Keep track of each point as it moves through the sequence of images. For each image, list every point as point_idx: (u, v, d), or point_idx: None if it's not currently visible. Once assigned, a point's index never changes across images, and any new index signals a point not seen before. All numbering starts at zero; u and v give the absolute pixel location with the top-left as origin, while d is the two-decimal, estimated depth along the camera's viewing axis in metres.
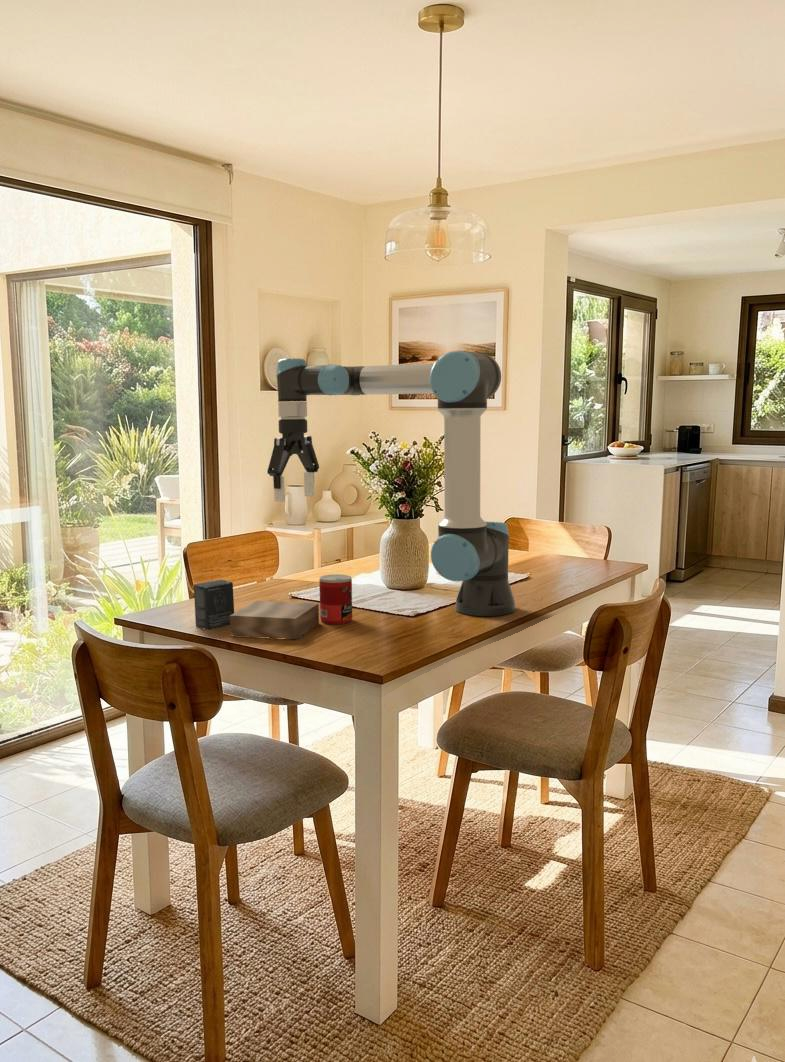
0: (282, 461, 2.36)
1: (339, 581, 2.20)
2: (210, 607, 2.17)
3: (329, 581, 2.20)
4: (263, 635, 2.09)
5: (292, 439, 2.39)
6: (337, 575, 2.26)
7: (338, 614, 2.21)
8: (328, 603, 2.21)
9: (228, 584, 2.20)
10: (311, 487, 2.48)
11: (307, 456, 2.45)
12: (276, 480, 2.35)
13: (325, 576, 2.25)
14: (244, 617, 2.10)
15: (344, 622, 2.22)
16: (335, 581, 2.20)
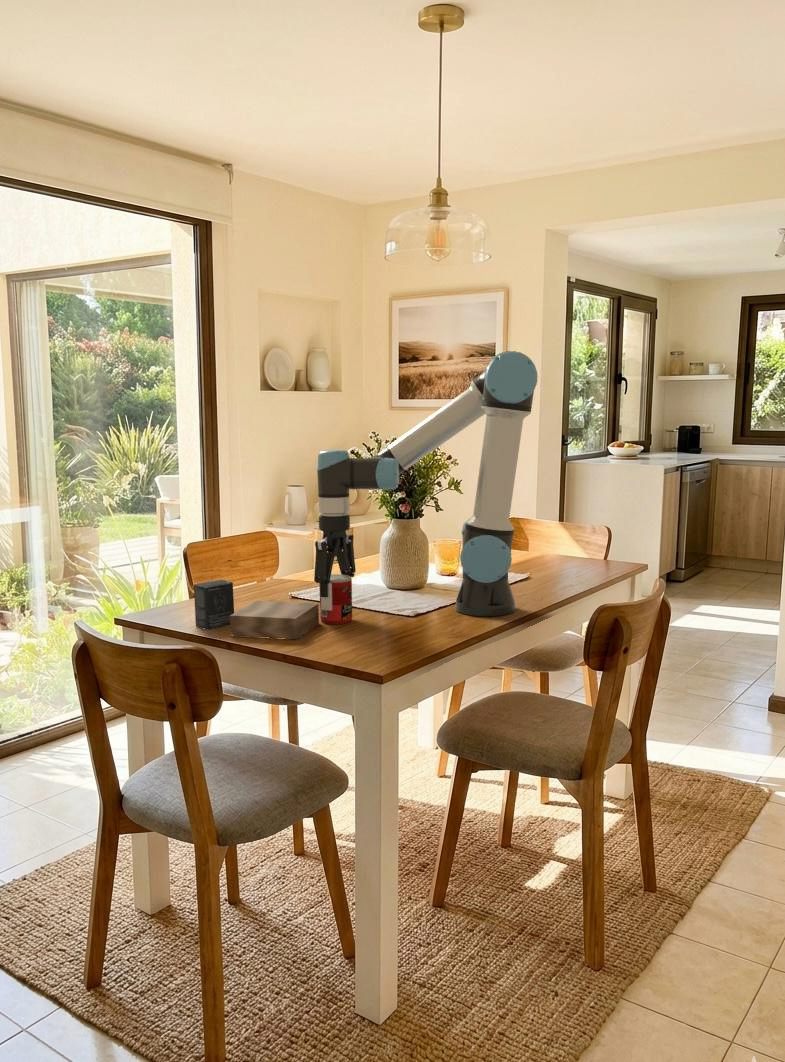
0: (327, 566, 2.19)
1: (339, 581, 2.20)
2: (210, 607, 2.17)
3: None
4: (263, 635, 2.09)
5: (333, 536, 2.20)
6: (337, 575, 2.26)
7: (338, 614, 2.21)
8: None
9: (228, 584, 2.20)
10: None
11: (346, 557, 2.25)
12: (323, 588, 2.19)
13: None
14: (244, 617, 2.10)
15: (344, 622, 2.22)
16: (335, 581, 2.20)
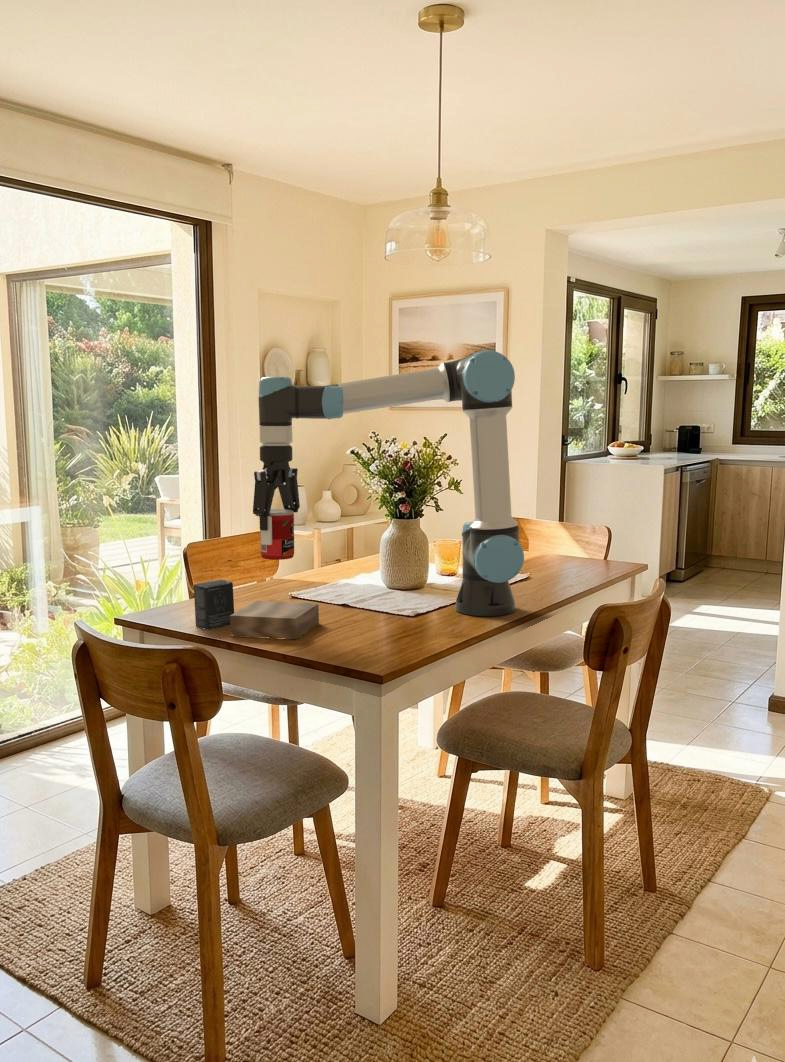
0: (267, 498, 2.09)
1: (279, 514, 2.10)
2: (210, 607, 2.17)
3: (269, 514, 2.10)
4: (263, 635, 2.09)
5: (274, 467, 2.10)
6: (279, 510, 2.17)
7: (278, 549, 2.11)
8: None
9: (228, 584, 2.20)
10: None
11: (289, 491, 2.15)
12: (262, 521, 2.09)
13: None
14: (244, 617, 2.10)
15: (284, 557, 2.12)
16: (275, 514, 2.10)
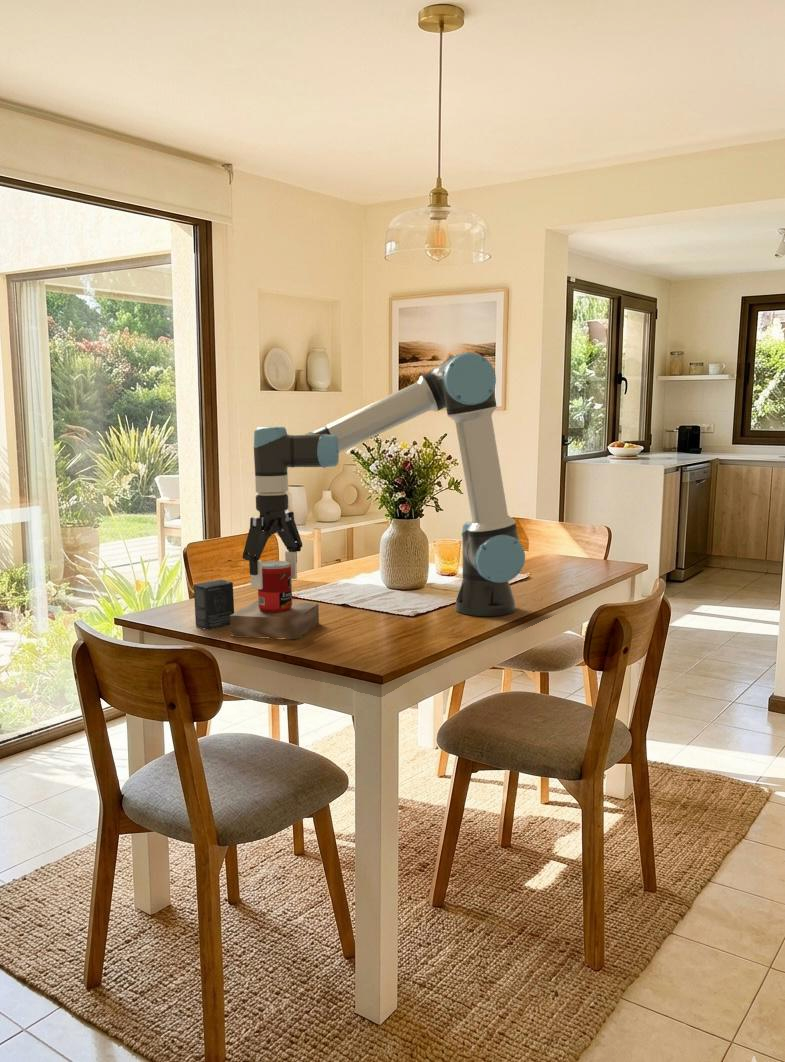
0: (259, 543, 2.08)
1: (277, 567, 2.11)
2: (210, 607, 2.17)
3: (267, 568, 2.11)
4: (263, 635, 2.09)
5: (271, 518, 2.11)
6: (276, 561, 2.18)
7: (276, 602, 2.12)
8: (266, 590, 2.12)
9: (228, 584, 2.20)
10: (293, 568, 2.20)
11: (288, 534, 2.17)
12: (252, 565, 2.07)
13: (264, 562, 2.16)
14: (244, 617, 2.10)
15: (282, 610, 2.13)
16: (272, 567, 2.11)
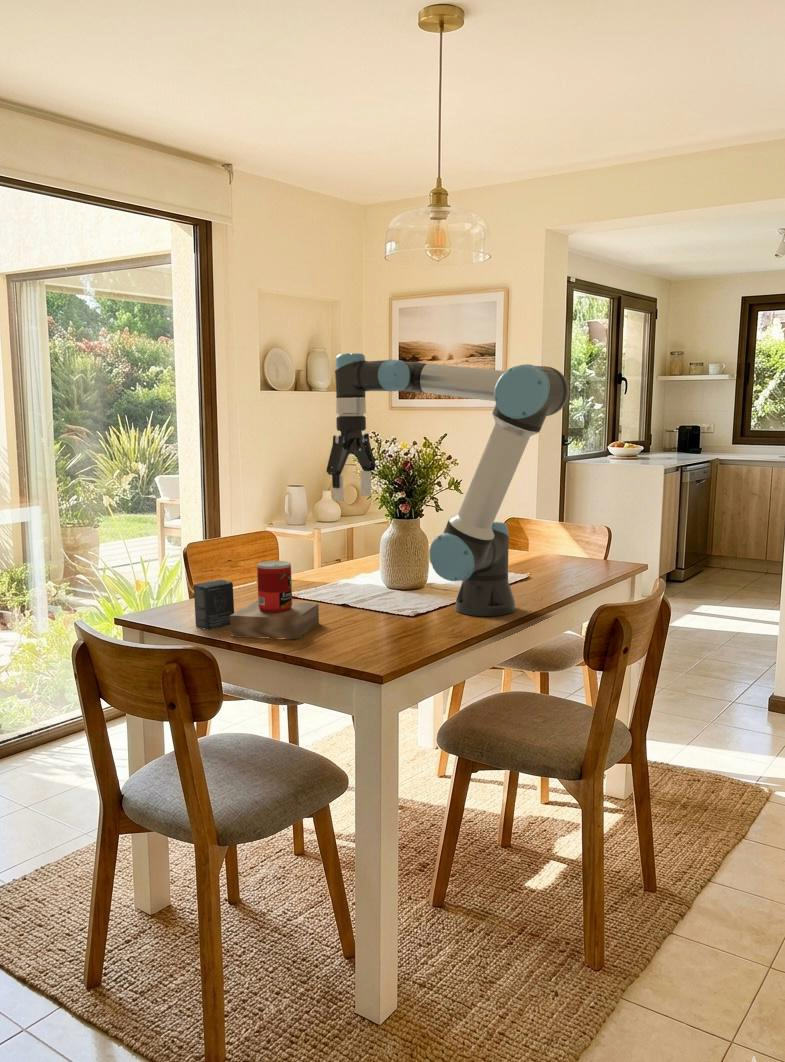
0: (341, 459, 2.29)
1: (277, 567, 2.11)
2: (210, 607, 2.17)
3: (267, 568, 2.11)
4: (263, 635, 2.09)
5: (351, 437, 2.31)
6: (276, 561, 2.18)
7: (276, 602, 2.12)
8: (266, 590, 2.12)
9: (228, 584, 2.20)
10: (368, 486, 2.41)
11: (364, 454, 2.38)
12: (335, 479, 2.28)
13: (264, 562, 2.16)
14: (244, 617, 2.10)
15: (282, 610, 2.13)
16: (272, 567, 2.11)
